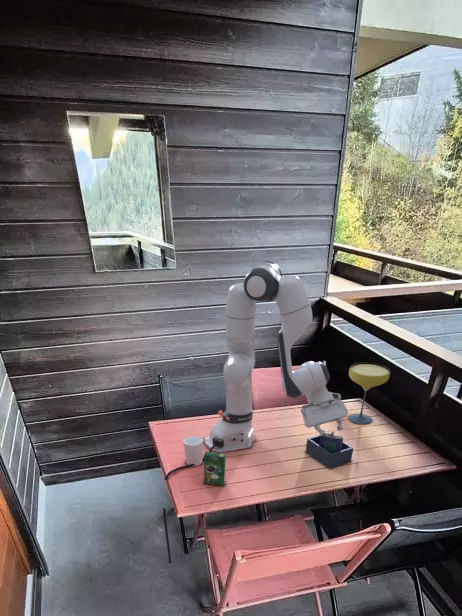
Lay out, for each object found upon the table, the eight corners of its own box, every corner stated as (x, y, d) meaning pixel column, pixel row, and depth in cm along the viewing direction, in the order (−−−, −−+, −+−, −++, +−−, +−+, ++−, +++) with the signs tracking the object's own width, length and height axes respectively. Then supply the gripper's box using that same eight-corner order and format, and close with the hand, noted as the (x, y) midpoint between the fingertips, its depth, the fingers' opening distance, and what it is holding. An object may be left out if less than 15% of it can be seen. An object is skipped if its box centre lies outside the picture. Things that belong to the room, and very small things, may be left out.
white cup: (189, 468, 178) (188, 447, 172) (181, 459, 184) (180, 438, 178) (207, 464, 181) (206, 442, 175) (199, 455, 187) (198, 434, 181)
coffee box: (226, 482, 170) (225, 452, 163) (224, 486, 168) (224, 456, 160) (205, 480, 171) (204, 450, 164) (204, 484, 169) (202, 454, 161)
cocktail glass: (372, 431, 205) (383, 379, 190) (335, 421, 213) (343, 370, 198) (384, 416, 217) (395, 367, 202) (349, 408, 225) (357, 359, 210)
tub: (329, 468, 178) (331, 455, 175) (305, 452, 189) (307, 438, 185) (350, 461, 183) (353, 447, 179) (326, 445, 194) (328, 432, 190)
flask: (340, 455, 185) (344, 432, 179) (339, 458, 183) (343, 435, 177) (318, 451, 188) (321, 428, 182) (317, 454, 186) (320, 431, 179)
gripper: (303, 403, 173) (316, 435, 172) (343, 393, 181) (355, 424, 180) (295, 409, 179) (307, 440, 178) (334, 399, 187) (346, 429, 186)
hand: (331, 432), depth 179 cm, fingers open, 8 cm apart
